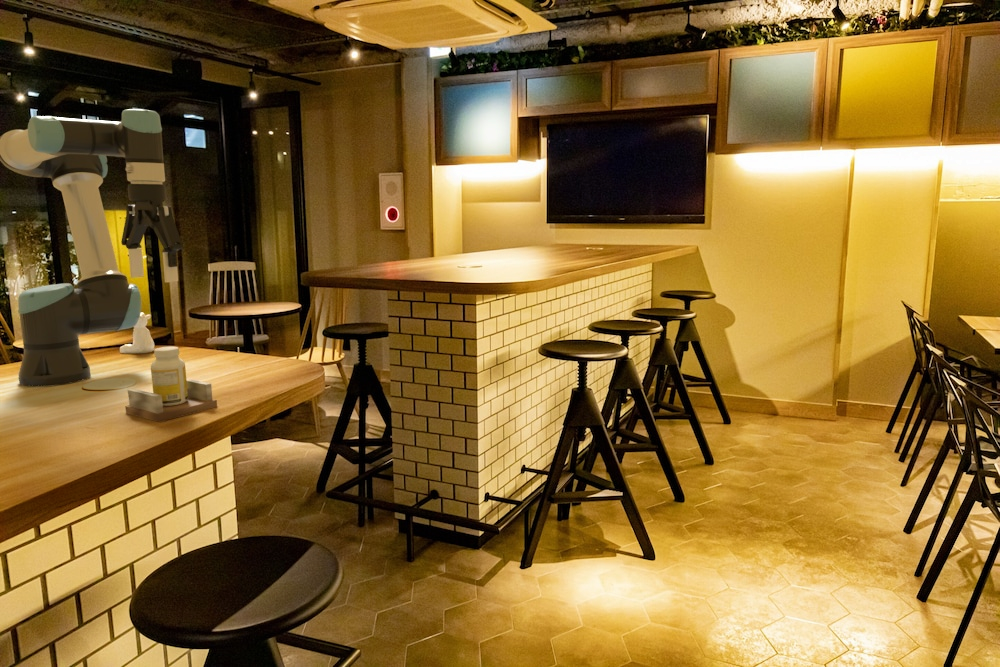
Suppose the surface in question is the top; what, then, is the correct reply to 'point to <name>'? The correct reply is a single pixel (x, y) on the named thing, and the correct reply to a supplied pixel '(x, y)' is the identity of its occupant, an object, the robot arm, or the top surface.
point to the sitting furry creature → (140, 338)
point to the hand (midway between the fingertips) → (154, 279)
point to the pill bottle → (169, 376)
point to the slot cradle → (154, 410)
